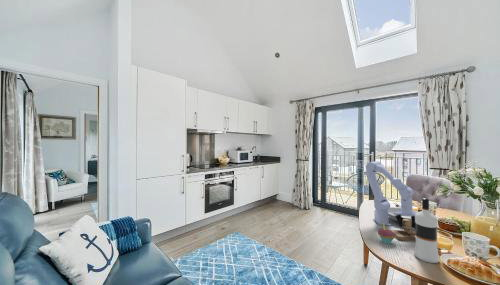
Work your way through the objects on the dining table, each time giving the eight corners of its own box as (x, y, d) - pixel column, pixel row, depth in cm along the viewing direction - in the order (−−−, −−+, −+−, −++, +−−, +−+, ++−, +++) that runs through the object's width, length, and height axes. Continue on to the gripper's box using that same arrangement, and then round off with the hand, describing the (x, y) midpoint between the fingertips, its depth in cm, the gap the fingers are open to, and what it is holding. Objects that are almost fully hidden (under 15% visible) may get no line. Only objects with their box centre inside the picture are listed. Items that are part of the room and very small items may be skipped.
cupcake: (387, 246, 108) (387, 225, 108) (374, 239, 116) (373, 219, 116) (399, 244, 110) (398, 223, 110) (385, 237, 119) (384, 217, 119)
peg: (401, 229, 128) (401, 219, 128) (408, 229, 128) (408, 219, 128) (405, 232, 124) (405, 221, 124) (413, 233, 123) (413, 222, 123)
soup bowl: (408, 215, 152) (408, 207, 152) (434, 229, 128) (434, 219, 128) (376, 214, 155) (376, 206, 155) (396, 228, 131) (396, 218, 131)
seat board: (390, 232, 124) (390, 229, 124) (421, 234, 121) (421, 231, 121) (398, 239, 115) (398, 236, 115) (433, 242, 112) (432, 238, 112)
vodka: (413, 258, 97) (412, 198, 97) (414, 251, 103) (413, 194, 103) (439, 266, 90) (438, 202, 90) (439, 257, 97) (438, 198, 97)
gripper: (397, 207, 123) (398, 229, 123) (423, 208, 121) (424, 230, 121) (391, 204, 130) (392, 224, 130) (416, 205, 128) (416, 225, 128)
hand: (407, 227), depth 126 cm, fingers open, 7 cm apart
